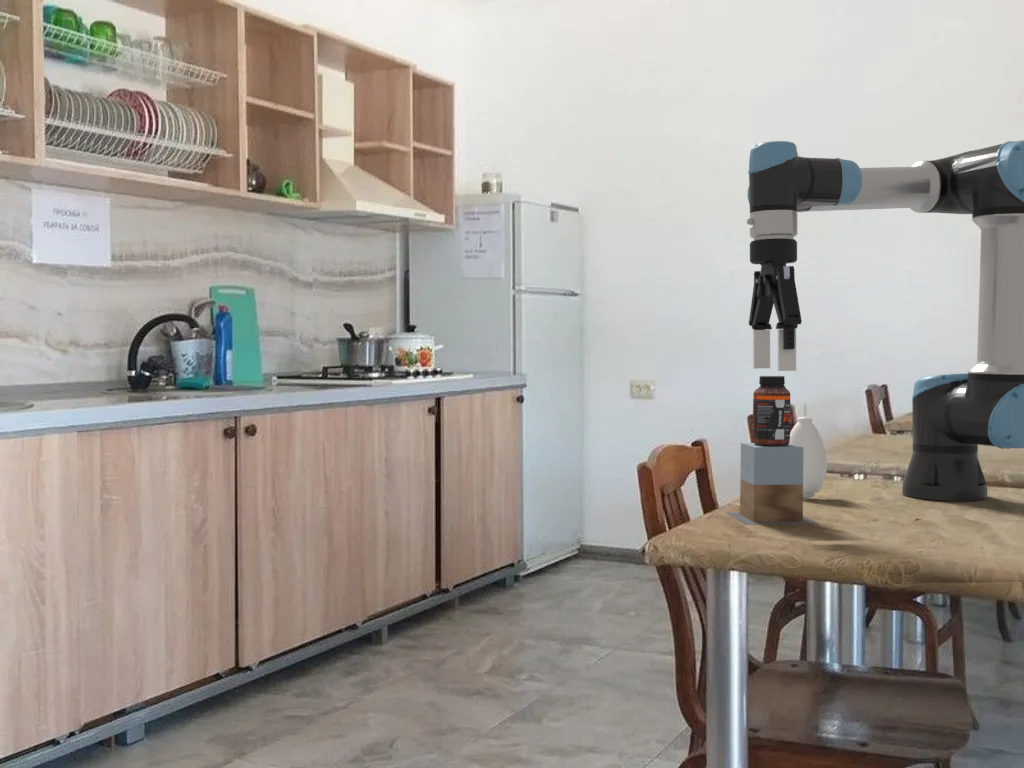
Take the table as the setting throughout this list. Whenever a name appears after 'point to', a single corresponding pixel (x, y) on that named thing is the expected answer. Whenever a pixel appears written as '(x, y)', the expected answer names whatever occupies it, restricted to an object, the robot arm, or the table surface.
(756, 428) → the supplement bottle
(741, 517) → the rubber mat
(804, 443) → the sauce bottle
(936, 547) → the table surface
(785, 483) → the slate block
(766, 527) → the table surface
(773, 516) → the walnut block
